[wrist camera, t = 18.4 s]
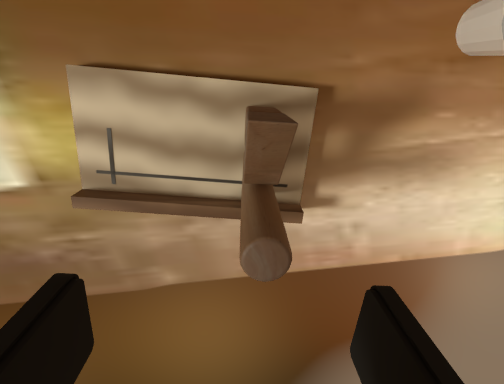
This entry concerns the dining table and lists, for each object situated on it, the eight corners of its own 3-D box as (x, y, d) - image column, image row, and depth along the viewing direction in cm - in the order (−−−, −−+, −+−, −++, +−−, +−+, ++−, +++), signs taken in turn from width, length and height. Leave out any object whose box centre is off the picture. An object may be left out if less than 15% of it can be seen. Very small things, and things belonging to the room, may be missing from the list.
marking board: (76, 65, 32) (50, 62, 28) (314, 88, 34) (324, 88, 30) (91, 194, 38) (72, 208, 34) (295, 208, 39) (301, 223, 35)
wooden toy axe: (277, 107, 32) (311, 130, 16) (269, 193, 36) (291, 286, 19) (245, 105, 32) (246, 126, 15) (241, 192, 36) (238, 285, 19)
